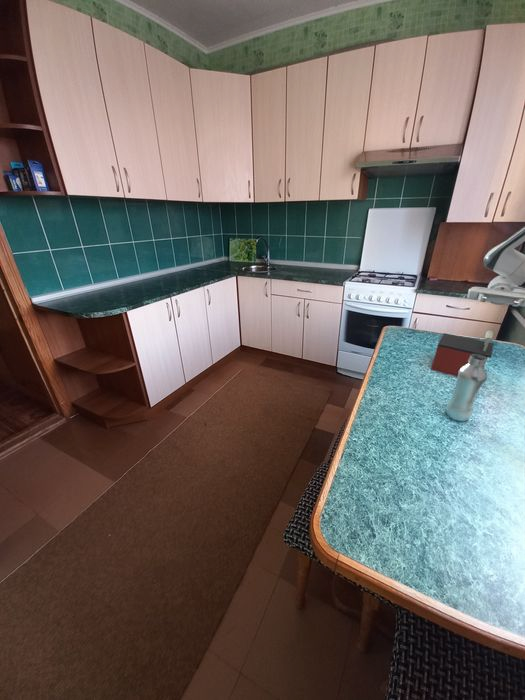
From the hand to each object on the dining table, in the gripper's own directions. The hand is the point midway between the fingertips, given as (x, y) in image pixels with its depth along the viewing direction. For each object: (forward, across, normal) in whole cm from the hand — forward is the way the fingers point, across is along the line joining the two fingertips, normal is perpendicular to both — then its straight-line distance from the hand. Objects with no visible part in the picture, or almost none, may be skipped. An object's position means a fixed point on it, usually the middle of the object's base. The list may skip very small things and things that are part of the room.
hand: (499, 302), depth 103 cm
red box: (+12, -6, +24) cm, 28 cm away
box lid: (+12, -6, +14) cm, 19 cm away
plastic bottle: (+43, -2, +24) cm, 49 cm away
